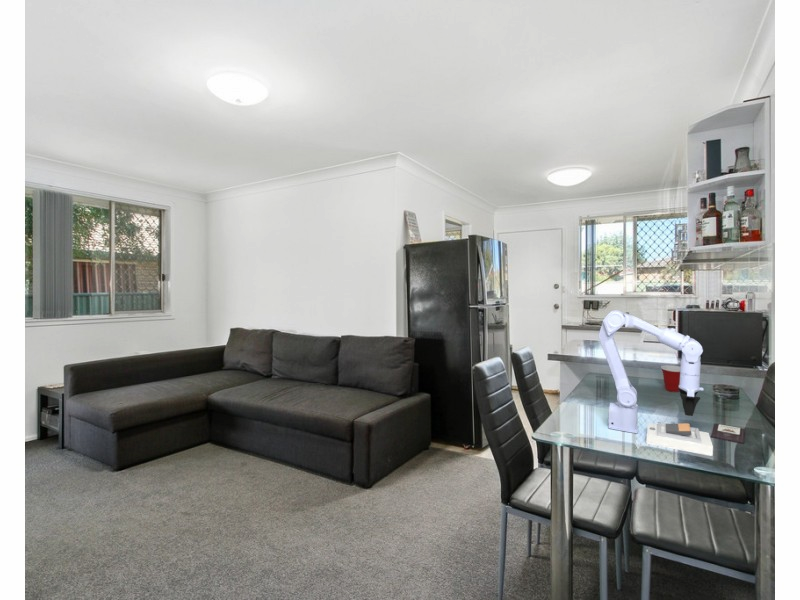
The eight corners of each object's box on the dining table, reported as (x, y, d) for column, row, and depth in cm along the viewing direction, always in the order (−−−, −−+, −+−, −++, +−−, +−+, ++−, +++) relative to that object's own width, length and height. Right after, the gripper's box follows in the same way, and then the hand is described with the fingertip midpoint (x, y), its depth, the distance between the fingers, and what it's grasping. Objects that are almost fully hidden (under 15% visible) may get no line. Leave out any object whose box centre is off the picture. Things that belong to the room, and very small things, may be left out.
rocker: (667, 437, 141) (665, 430, 141) (666, 429, 149) (665, 423, 149) (692, 437, 137) (690, 430, 137) (690, 429, 145) (689, 423, 145)
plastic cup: (658, 390, 213) (659, 367, 212) (660, 386, 221) (661, 364, 221) (684, 394, 206) (685, 370, 206) (685, 390, 215) (686, 367, 214)
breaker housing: (646, 443, 142) (646, 431, 141) (647, 430, 154) (648, 419, 154) (712, 456, 132) (713, 443, 132) (708, 441, 145) (708, 429, 145)
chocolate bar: (711, 436, 148) (714, 423, 162) (710, 438, 149) (714, 425, 162) (743, 442, 143) (744, 429, 156) (743, 445, 143) (744, 431, 156)
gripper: (706, 379, 137) (704, 420, 138) (702, 371, 150) (700, 409, 150) (680, 376, 141) (678, 416, 141) (678, 369, 153) (676, 405, 154)
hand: (687, 412), depth 146 cm, fingers open, 7 cm apart
